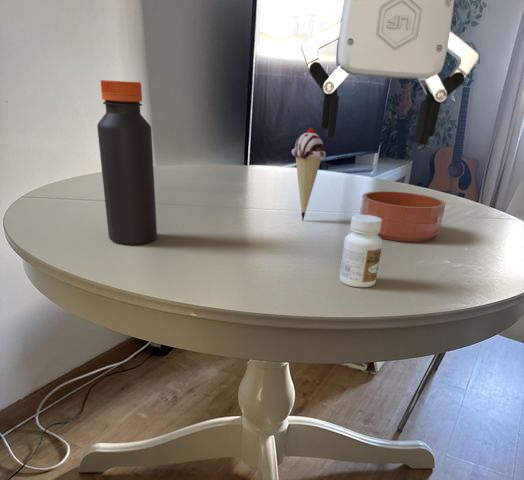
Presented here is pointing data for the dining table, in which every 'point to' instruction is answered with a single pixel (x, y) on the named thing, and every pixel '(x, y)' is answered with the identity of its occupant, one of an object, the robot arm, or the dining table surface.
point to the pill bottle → (361, 252)
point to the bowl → (404, 214)
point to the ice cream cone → (307, 164)
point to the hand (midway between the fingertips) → (374, 140)
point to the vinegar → (127, 165)
